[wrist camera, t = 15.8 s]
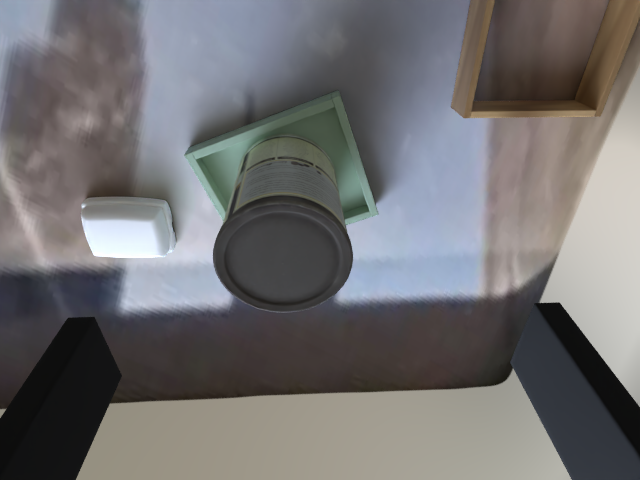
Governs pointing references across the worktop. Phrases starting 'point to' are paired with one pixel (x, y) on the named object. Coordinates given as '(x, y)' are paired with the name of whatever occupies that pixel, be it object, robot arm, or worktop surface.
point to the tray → (305, 120)
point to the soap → (128, 227)
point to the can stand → (590, 100)
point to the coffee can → (284, 228)
